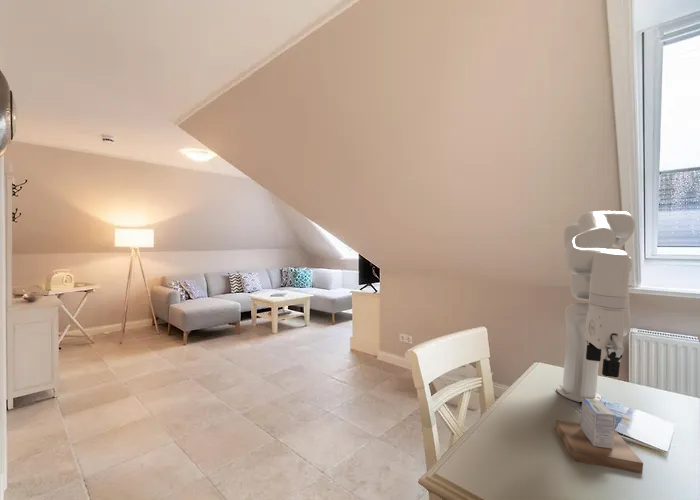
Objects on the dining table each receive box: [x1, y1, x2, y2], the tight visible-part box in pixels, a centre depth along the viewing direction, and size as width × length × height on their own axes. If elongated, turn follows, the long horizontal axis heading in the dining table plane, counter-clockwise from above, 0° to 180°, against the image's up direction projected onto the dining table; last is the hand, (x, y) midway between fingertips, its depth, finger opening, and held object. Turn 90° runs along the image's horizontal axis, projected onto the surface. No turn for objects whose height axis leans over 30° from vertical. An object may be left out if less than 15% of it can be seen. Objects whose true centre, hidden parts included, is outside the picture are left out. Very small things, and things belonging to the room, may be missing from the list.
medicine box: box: [579, 399, 616, 449], centre depth 88 cm, size 8×4×9 cm, turn 167°
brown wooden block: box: [555, 419, 644, 474], centre depth 88 cm, size 14×14×2 cm
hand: (601, 367), depth 87 cm, fingers open, 9 cm apart
